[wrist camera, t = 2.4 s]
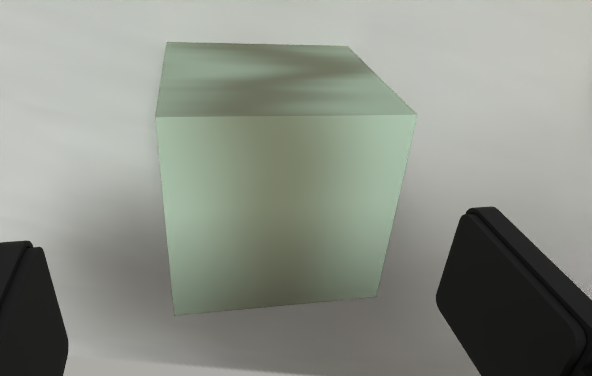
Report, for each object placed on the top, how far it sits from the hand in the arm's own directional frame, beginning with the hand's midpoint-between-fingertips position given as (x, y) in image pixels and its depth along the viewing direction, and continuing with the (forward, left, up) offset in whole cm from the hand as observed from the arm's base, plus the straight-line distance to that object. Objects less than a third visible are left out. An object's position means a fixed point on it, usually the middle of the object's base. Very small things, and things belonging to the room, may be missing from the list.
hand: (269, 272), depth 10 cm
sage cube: (-1, 0, -8) cm, 8 cm away
